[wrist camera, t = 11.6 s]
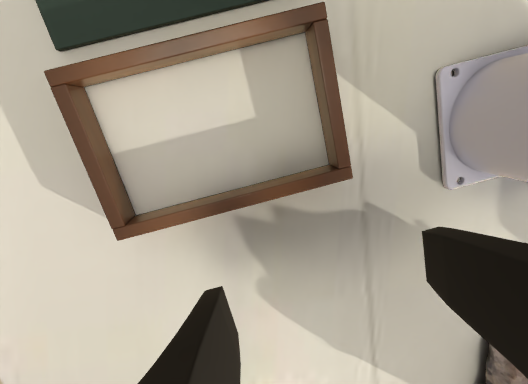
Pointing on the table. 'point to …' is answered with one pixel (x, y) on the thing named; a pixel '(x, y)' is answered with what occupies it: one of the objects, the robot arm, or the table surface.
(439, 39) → the table surface
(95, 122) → the desk tray
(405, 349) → the table surface
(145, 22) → the desk mat
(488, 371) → the geode
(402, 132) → the table surface
